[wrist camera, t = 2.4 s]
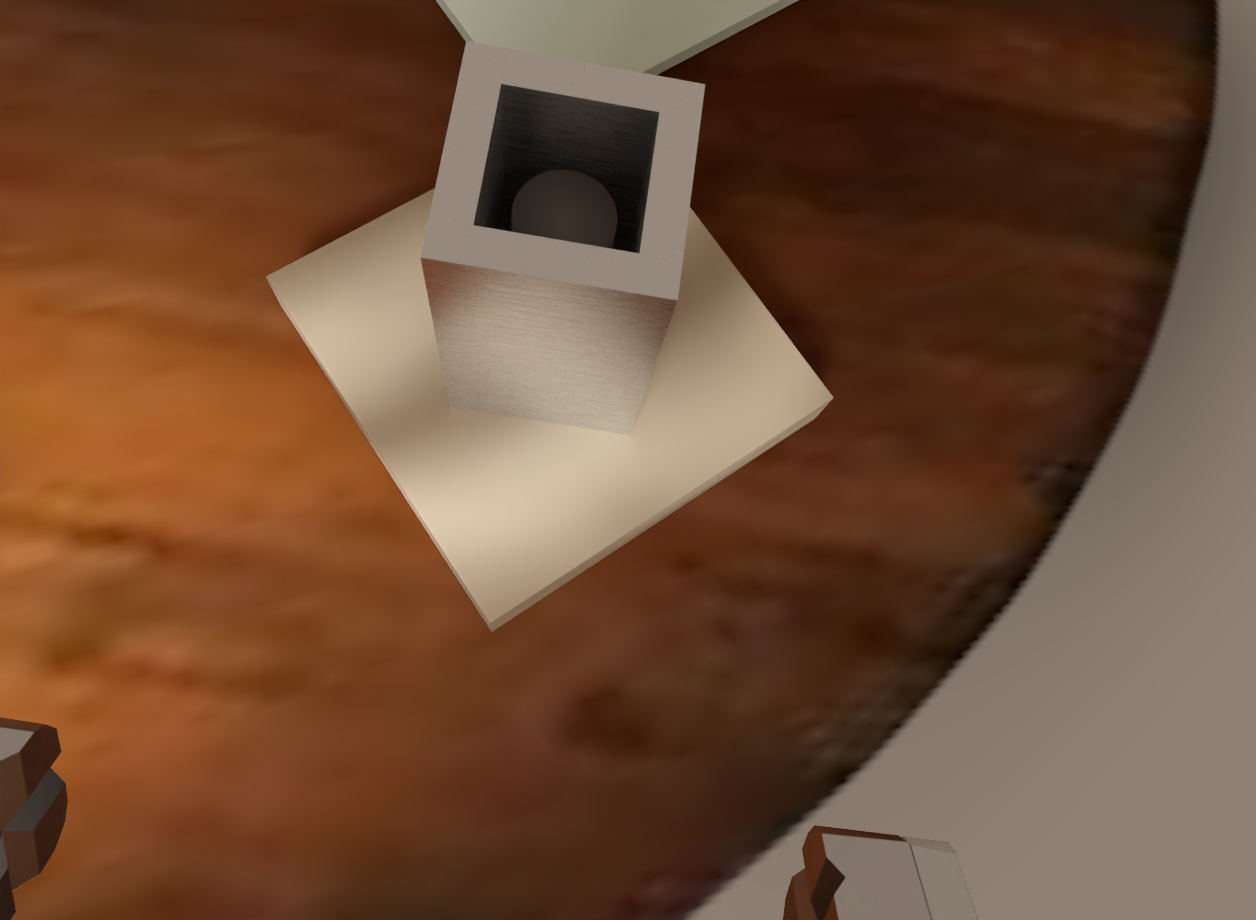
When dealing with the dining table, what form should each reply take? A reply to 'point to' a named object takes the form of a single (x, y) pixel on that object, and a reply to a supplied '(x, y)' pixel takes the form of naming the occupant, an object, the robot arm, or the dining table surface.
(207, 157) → the dining table surface
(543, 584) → the peg stand
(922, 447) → the dining table surface
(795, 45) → the dining table surface
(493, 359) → the steel sleeve
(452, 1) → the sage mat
